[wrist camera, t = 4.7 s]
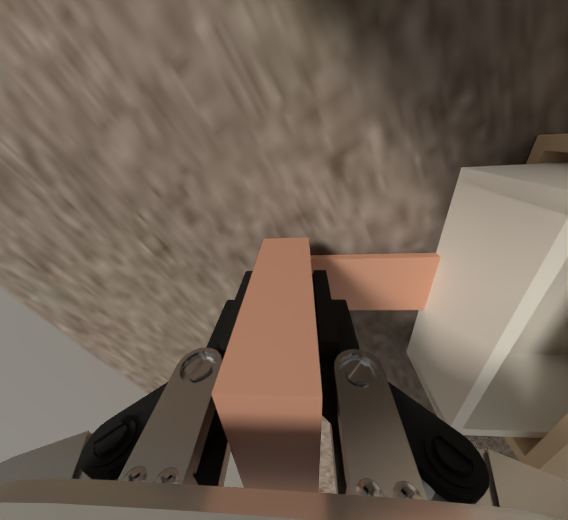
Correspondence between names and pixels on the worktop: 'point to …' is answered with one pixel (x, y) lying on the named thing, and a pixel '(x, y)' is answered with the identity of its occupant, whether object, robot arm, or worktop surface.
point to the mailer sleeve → (564, 435)
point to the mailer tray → (427, 330)
